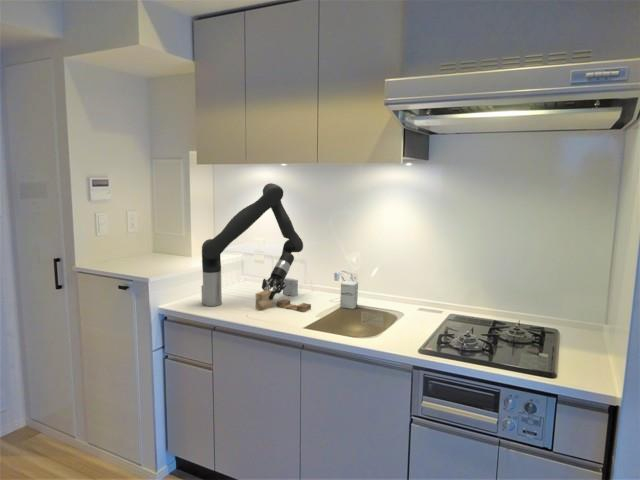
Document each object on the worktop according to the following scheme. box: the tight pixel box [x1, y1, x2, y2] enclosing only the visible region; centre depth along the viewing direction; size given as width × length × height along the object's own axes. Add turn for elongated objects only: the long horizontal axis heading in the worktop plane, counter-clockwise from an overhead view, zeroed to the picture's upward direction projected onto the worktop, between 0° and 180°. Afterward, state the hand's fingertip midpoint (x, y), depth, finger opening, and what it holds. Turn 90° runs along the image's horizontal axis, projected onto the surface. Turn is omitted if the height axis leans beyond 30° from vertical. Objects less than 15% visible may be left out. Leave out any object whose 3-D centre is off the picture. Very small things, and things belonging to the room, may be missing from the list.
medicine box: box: [282, 277, 299, 297], centre depth 258 cm, size 8×4×9 cm, turn 49°
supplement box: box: [339, 280, 359, 310], centre depth 237 cm, size 7×7×13 cm
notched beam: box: [275, 298, 312, 313], centre depth 233 cm, size 17×6×2 cm, turn 58°
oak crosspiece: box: [255, 289, 274, 311], centre depth 232 cm, size 4×9×8 cm, turn 149°
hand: (266, 298), depth 234 cm, fingers closed on oak crosspiece, 4 cm apart
